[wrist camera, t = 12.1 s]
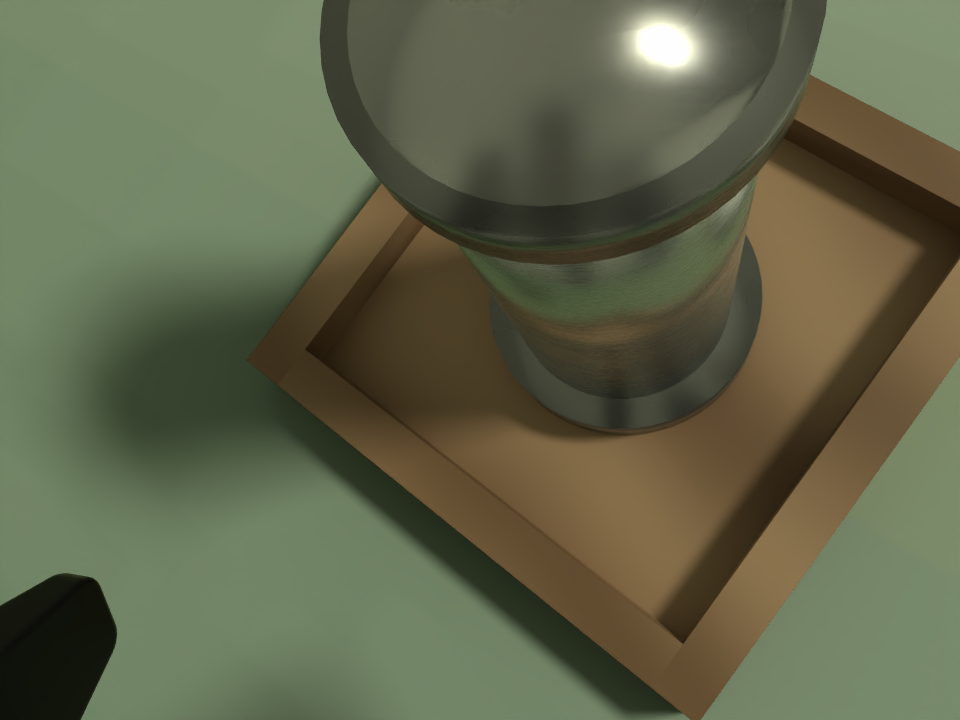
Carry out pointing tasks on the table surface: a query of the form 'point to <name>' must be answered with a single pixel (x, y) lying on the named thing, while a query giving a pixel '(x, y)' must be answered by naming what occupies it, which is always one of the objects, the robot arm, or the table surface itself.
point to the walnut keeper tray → (670, 452)
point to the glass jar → (585, 175)
